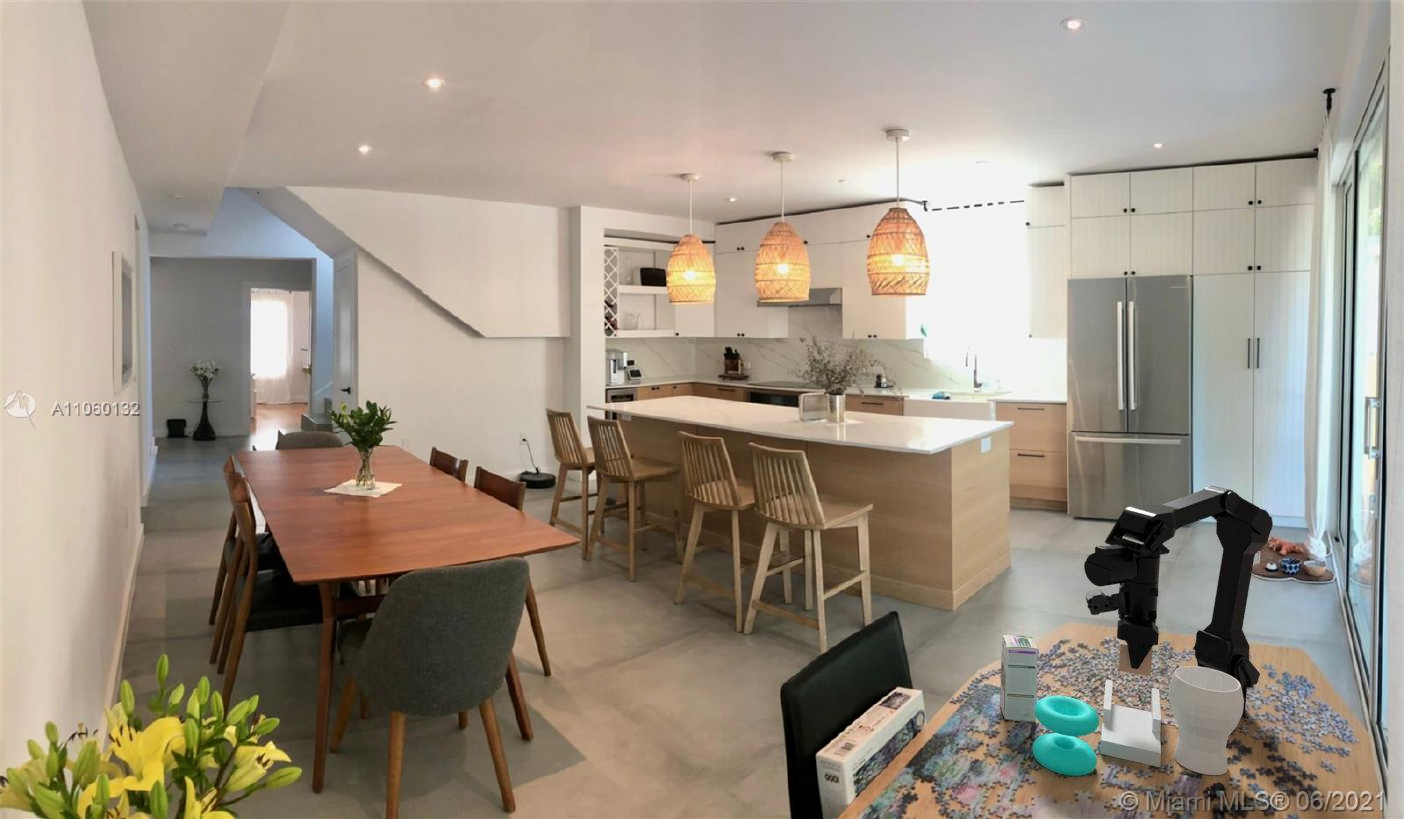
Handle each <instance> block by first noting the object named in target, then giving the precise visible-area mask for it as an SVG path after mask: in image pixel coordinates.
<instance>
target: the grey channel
mask: <svg viewBox="0 0 1404 819" xmlns="http://www.w3.org/2000/svg"><path fill="white" fill-rule="evenodd" d="M1113 684H1114V683H1113V679H1112V680H1110V679H1107V678H1106V679H1105V687H1104V696H1103V710H1102V726H1101V735H1100V736H1101V737H1100V749H1099V750H1100V751H1099V752H1100V755H1105V756H1110V757H1113V758H1118V759H1122V760H1127V761H1131V762H1135V763H1140V764H1143V765H1149V766H1152V767H1159V768H1160V767H1161V759H1162V758H1161V756H1162V753H1161V752H1162V751H1161V750H1162V746H1161V723H1162V719H1161V700H1160V689H1159V688H1153V687H1151V693H1150V695H1151V696H1150V706H1149V708H1150V710H1149V711H1148V710H1146V709H1139V708H1135V707H1129V706H1125V705H1121V704H1120V705H1119V704H1114V703H1112V698H1113V696H1112V695H1113Z"/></svg>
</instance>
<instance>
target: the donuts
mask: <svg viewBox="0 0 1404 819" xmlns="http://www.w3.org/2000/svg"><path fill="white" fill-rule="evenodd" d="M1034 712H1035V716H1036V720H1037V721H1038V722H1039V723H1040V724H1041V725H1042V726H1043V727H1045V728H1046V729H1048V730H1049V731H1052V733H1044V734H1042V735H1040V736H1039V737H1037V738H1036V739H1035V740H1034V741H1033V743H1032V747H1031V748H1032V754H1033V757H1034V758H1035V760H1036V761H1037V762H1038V763H1039V764H1040V765H1041V766H1043V767H1044V768H1045V769H1048V770H1049V771H1051V772H1054V773H1058V774H1061V775H1065V776H1074V777H1076V776H1077V777H1078V776H1083V775H1084V776H1085V775H1088V774H1090V773H1091V772H1093V771H1094V770H1095V769H1096V767H1097V764H1098V758H1097V754H1096V752H1095V751H1094V749H1093V748H1092V747H1091V746H1090V745H1089V744H1088V743H1087V742H1085V741H1084V740H1082V739H1080V738H1079V737H1084V736H1087V735H1091V734H1093V733H1094V732H1095V731H1096V730H1098V728H1099V726H1100V717H1099V714H1098V713H1097V710H1096V709H1094V707H1092V706H1091V705H1090V704H1088V703H1086V702H1085V701H1082V700H1080V699H1077V698H1075V697H1074V698H1073V697H1070V696H1064V695H1048V696H1045V697H1042V698H1040V699H1039V700H1038V701H1036V705H1035V708H1034Z"/></svg>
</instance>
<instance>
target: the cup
mask: <svg viewBox="0 0 1404 819" xmlns="http://www.w3.org/2000/svg"><path fill="white" fill-rule="evenodd" d="M1168 686H1169V687H1168V699H1169V703H1170V708H1171V712H1172V714H1173V717H1174V719H1175V721H1176V723H1177V731H1178V732H1177V733H1178V739H1177V742H1176V745H1175V750H1174V754H1173V758H1174V759H1175V761H1176V762H1177V763H1178V764H1179V765H1181V766H1182V767H1183V768H1185V769H1187V770H1189V771H1192V772H1195V773H1198V774H1202V775H1208V776H1219V775H1220V776H1221V775H1224V774H1226V773H1227V771H1228V769H1229V768H1228V756H1227V748H1226V747H1227V743H1228V739H1229V736H1230V735H1231V734H1232V733H1233V732H1234V730H1235V729H1236V728H1237V726H1238V724H1239V723H1240V721H1241V718H1242V717H1241V716H1242V714H1243V706H1244V699H1243V693H1242V688H1241V685H1240V682H1239V681H1238V680H1237V679H1235V678H1234V677H1232V676H1230V675H1228V674H1226V673H1224V672H1221V671H1217V670H1214V669H1210V668H1205V667H1198V665H1197V666H1196V665H1195V666H1193V665H1186V666H1180V667H1177V668H1175V669H1174V672H1173V674H1172V677H1171V679H1170V682H1169V685H1168Z"/></svg>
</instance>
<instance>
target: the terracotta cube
mask: <svg viewBox="0 0 1404 819" xmlns="http://www.w3.org/2000/svg"><path fill="white" fill-rule="evenodd" d="M1119 643H1120V645H1119V658H1118V659H1119V660H1118V671H1119V672H1124V673H1129V674H1134V675H1135V674H1136V675H1141V676H1145V677H1150V678H1151V676H1152V660H1153V647H1152V648H1151V650H1150V651H1149V653H1148V654H1147V656H1146V657H1145V659H1144V660H1143V662H1142V664H1141V665H1140V667H1139V669H1133V668H1131V664H1130V658H1129V652H1128V646H1127V642H1126V641H1125V640H1120V642H1119Z"/></svg>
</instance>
